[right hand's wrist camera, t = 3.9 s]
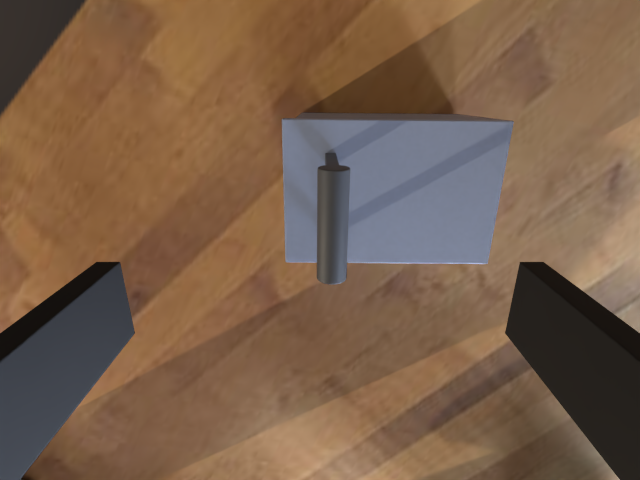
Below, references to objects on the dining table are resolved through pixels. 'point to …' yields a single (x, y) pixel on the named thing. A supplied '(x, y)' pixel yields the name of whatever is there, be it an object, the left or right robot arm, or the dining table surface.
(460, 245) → the lid
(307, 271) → the dining table surface
